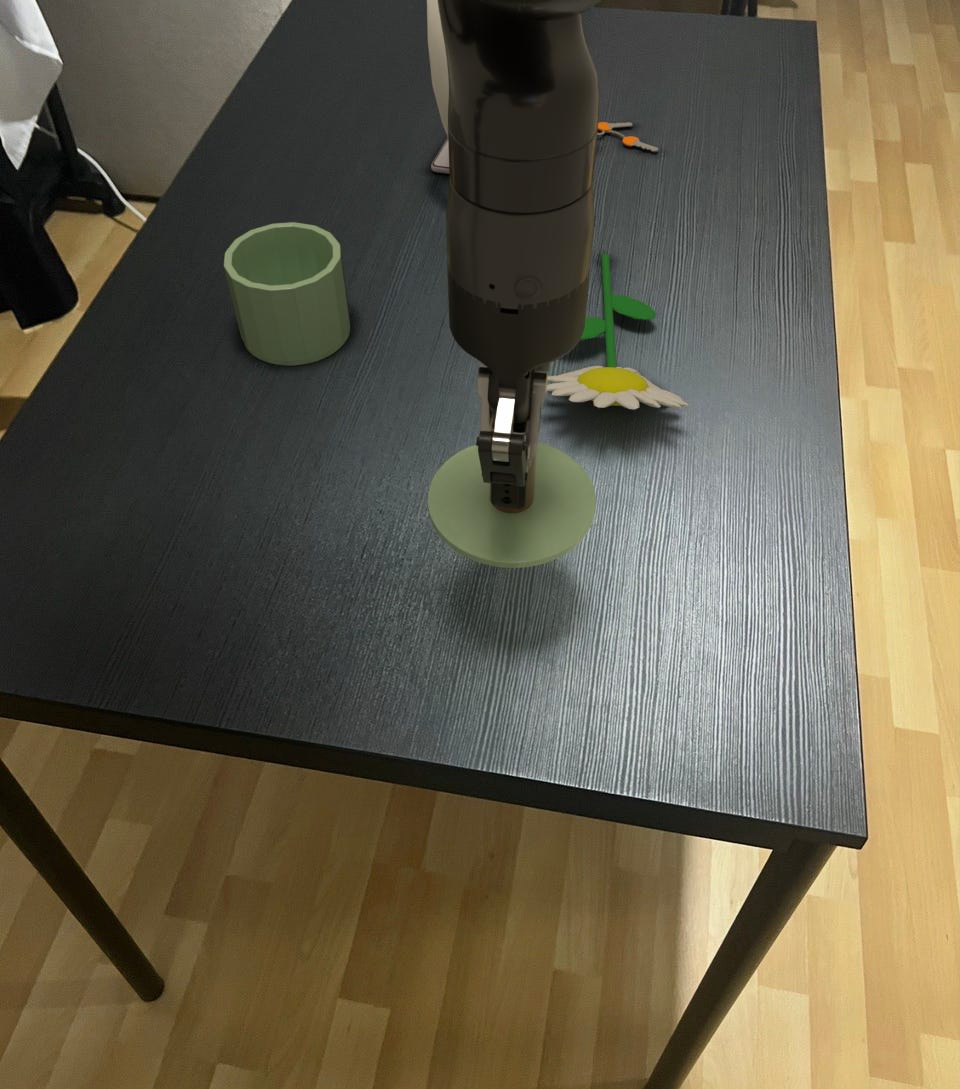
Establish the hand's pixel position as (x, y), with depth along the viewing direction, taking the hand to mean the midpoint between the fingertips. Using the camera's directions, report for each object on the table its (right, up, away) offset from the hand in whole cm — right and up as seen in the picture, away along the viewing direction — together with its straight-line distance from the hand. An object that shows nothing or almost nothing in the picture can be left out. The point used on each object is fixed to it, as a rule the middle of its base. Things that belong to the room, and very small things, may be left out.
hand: (512, 483), depth 65 cm
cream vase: (-2, +36, +47) cm, 60 cm away
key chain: (+12, +44, +54) cm, 71 cm away
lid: (0, -1, +2) cm, 2 cm away
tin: (-20, +17, +31) cm, 40 cm away
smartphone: (-2, +43, +53) cm, 69 cm away
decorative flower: (+10, +14, +29) cm, 33 cm away
